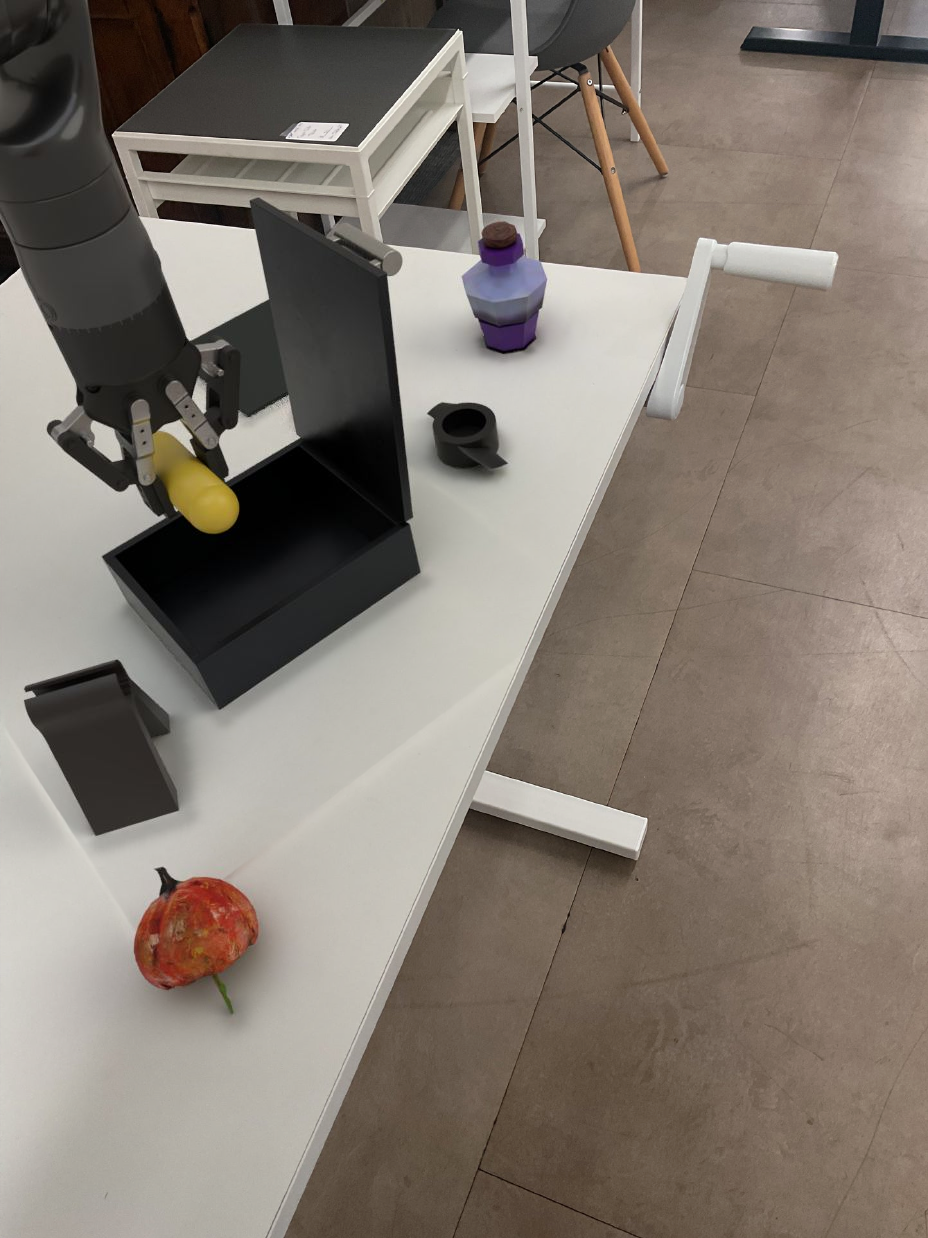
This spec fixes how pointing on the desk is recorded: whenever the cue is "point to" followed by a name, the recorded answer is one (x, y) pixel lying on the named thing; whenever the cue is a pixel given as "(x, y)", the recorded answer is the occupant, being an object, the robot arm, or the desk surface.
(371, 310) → the lid
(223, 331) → the mat
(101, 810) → the phone stand
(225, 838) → the desk surface
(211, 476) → the yellow capsule
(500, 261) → the potion bottle
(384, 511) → the black open box
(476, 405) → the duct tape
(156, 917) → the painted toy pumpkin
